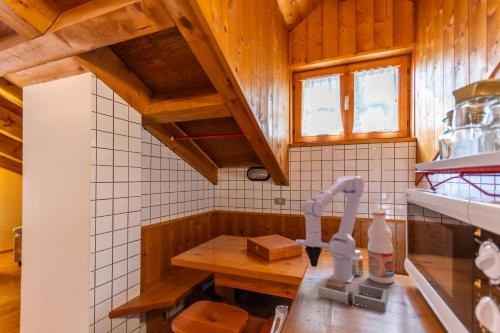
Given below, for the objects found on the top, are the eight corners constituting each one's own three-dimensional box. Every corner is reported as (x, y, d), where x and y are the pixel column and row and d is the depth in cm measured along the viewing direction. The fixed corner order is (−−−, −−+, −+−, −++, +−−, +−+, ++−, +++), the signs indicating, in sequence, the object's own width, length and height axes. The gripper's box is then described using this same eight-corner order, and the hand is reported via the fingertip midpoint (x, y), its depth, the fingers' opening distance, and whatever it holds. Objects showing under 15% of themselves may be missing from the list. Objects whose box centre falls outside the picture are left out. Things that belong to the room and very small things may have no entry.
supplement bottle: (362, 271, 114) (361, 249, 114) (364, 275, 108) (363, 253, 109) (349, 270, 115) (348, 248, 115) (350, 274, 110) (350, 252, 110)
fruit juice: (370, 273, 111) (368, 209, 112) (395, 277, 106) (392, 211, 107) (367, 280, 103) (364, 212, 104) (393, 286, 98) (390, 214, 99)
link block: (329, 288, 97) (328, 278, 97) (345, 292, 94) (345, 281, 94) (325, 294, 93) (325, 283, 93) (342, 298, 90) (342, 286, 90)
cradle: (359, 292, 94) (359, 283, 94) (387, 298, 89) (387, 289, 89) (354, 304, 85) (354, 295, 85) (384, 312, 80) (384, 302, 80)
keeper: (353, 304, 85) (353, 292, 85) (352, 306, 83) (352, 294, 84) (319, 295, 91) (318, 284, 91) (317, 297, 90) (317, 286, 90)
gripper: (292, 231, 99) (292, 265, 99) (329, 235, 91) (330, 273, 91) (298, 227, 105) (299, 260, 105) (334, 231, 97) (335, 266, 97)
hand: (314, 266), depth 98 cm, fingers closed
